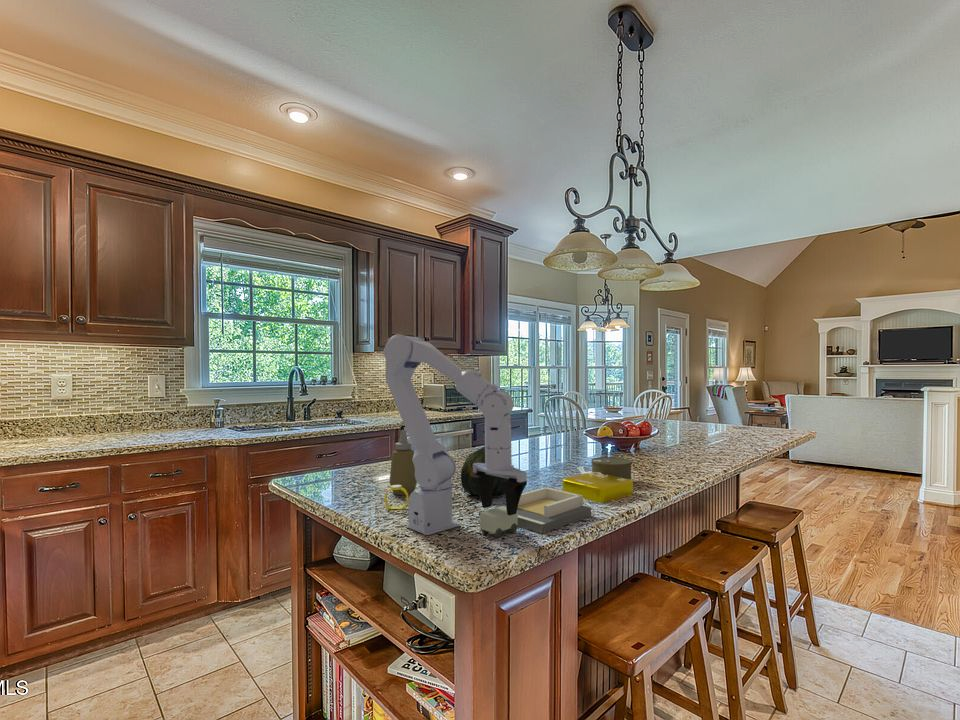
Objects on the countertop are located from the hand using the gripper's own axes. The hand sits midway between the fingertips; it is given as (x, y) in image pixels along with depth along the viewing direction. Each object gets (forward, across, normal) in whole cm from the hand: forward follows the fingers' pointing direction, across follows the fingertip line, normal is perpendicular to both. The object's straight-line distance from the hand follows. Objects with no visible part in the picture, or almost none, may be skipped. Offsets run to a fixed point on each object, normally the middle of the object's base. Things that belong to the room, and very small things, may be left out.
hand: (499, 510), depth 102 cm
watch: (+5, +31, +6) cm, 32 cm away
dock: (+5, +1, -15) cm, 16 cm away
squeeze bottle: (+5, +43, -4) cm, 44 cm away
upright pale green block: (+5, 0, 0) cm, 5 cm away
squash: (+5, +26, -21) cm, 34 cm away
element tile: (+6, +4, -43) cm, 44 cm away
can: (+5, +8, -57) cm, 58 cm away
